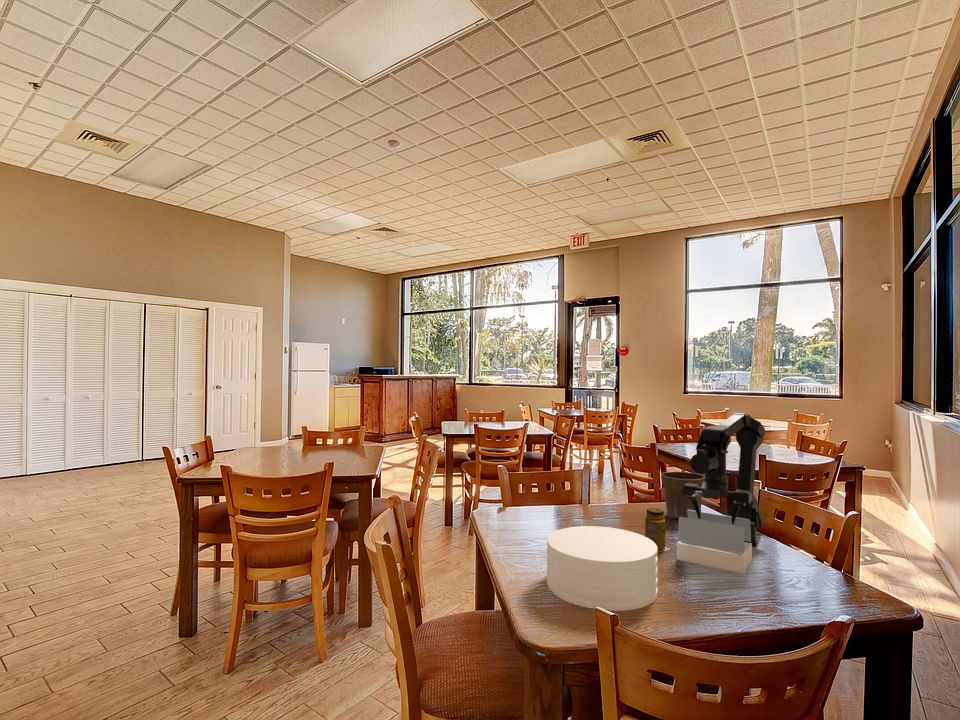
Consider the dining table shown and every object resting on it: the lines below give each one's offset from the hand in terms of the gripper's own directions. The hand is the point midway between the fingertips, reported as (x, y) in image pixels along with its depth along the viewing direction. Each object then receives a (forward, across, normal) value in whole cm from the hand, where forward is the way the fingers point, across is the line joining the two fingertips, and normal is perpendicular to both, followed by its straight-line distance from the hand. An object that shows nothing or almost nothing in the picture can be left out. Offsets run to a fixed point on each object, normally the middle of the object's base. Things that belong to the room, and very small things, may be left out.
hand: (716, 521), depth 153 cm
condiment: (+11, -18, -3) cm, 21 cm away
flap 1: (+2, 0, +3) cm, 4 cm away
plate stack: (+11, -20, -40) cm, 46 cm away
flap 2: (+2, 0, -7) cm, 8 cm away
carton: (+11, 0, -2) cm, 11 cm away
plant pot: (+11, -20, +40) cm, 46 cm away
